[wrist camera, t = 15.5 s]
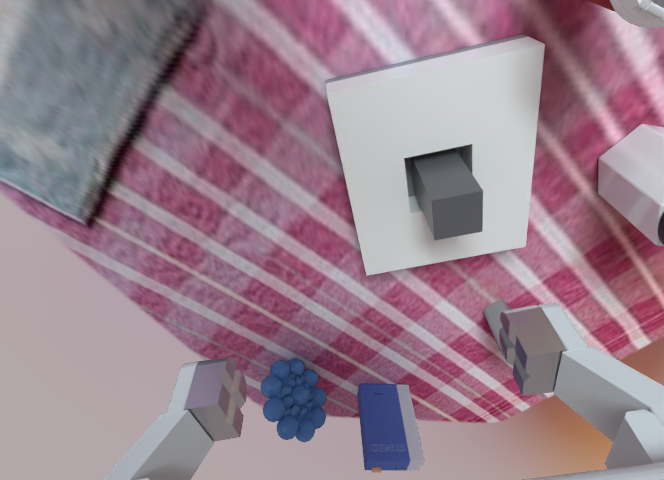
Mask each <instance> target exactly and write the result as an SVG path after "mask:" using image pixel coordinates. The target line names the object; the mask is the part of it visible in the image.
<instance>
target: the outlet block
mask: <svg viewBox="0 0 664 480" xmlns="http://www.w3.org/2000/svg"><path fill="white" fill-rule="evenodd" d="M544 49H545V44H544V43H541V42H539V41H537V40H535V39H533V38H530V37H528V36H526V35H524V34H522V35H518V36H513V37H509V38H505V39H500V40H496V41H492V42H487V43H483V44H479V45H474V46H470V47H466V48H462V49H457V50H453V51H449V52H444V53H440V54H436V55H431V56H427V57H423V58H419V59H414V60H410V61H406V62H401V63H397V64H393V65H388V66H384V67H380V68H376V69H371V70H367V71H363V72H358V73H354V74H350V75H345V76H341V77H337V78H333V79H328V80H326V90H327V97H328V102H329V106H330V111H331V116H332V120H333V125H334V129H335V134H336V138H337V143H338V148H339V152H340V157H341V161H342V166H343V171H344V175H345V180H346V184H347V189H348V193H349V198H350V203H351V207H352V212H353V216H354V221H355V226H356V230H357V235H358V239H359V244H360V248H361V253H362V258H363V262H364V267H365V271H366V276H367V275H373V274H378V273H384V272H389V271H395V270H400V269H406V268H411V267H417V266H422V265H428V264H433V263H439V262H444V261H450V260H455V259H461V258H466V257H472V256H477V255H482V254H488V253H493V252H499V251H504V250H510V249H515V248H521V247H526V238H527V227H528V217H529V206H530V196H531V185H532V175H533V164H534V154H535V143H536V133H537V123H538V112H539V102H540V91H541V81H542V70H543V60H544ZM451 148H455V149H456V151H457V152H458V154H459V155H460V157H461V158H462V160H463V161H464V163H465V164H466V166H467V167H468V169H469V170H470V172H471V173H472V175H473V176H474V178H475V179H476V181H477V182H478V184H479V185H480V187H481V188H482V190H483V229H482V232H477V233H472V234H467V235H461V236H456V237H451V238H445V239H440V240H435V241H434V238H433V236H432V233H431V231H430V228H429V226H428V223H427V221H426V218H425V216H424V213H423V211H422V208H421V206H420V203H419V201H418V198H417V196H416V193H415V191H414V188H413V180H412V170H411V160H410V157H413V156H418V155H422V154H427V153H432V152H437V151H442V150H446V149H451Z"/></svg>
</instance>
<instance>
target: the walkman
mask: <svg viewBox="0 0 664 480" xmlns="http://www.w3.org/2000/svg"><path fill="white" fill-rule="evenodd" d="M358 404H359V415H360V424H361V436H362V446H363V457H364V467H365V470H372V472H381V470H419V469H420V467H421V466H422V465H423V463H424V457H423V451H422V448H421V442H420V437H419V432H418V428H417V423H416V418H415V413H414V409H413V404H412V399H411V394H410V390H409V385H398V384H396V385H393V384H360V385H359V390H358Z"/></svg>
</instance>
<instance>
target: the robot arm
mask: <svg viewBox="0 0 664 480" xmlns="http://www.w3.org/2000/svg"><path fill="white" fill-rule="evenodd" d="M500 321H501V323H502V325H503V327H502V328H501V329H500V330H499V339H500V344H501V349H502V351H503V354H504V357H505V359H506V361H507V362H508V363H509V364H511V365H512V366H513V377H514V379H515V381H516V383H517V385H518V387H519V390H520V392H521V394H522V396H524V395H532V394H541V393H549V392H554V394H555V395H556V396H558V397H559V398H560V399H561V400H562V401H563V402H565V403H566V404H567V405H568V406H570V407H571V408H572V409H573V410H575V411H576V412H577V413H578V414H579V415H581V416H582V417H583V418H584V419H586V420H587V421H588V422H589V423H590V424H592V425H593V426H594V427H595V428H597V429H598V430H599V431H600V432H602V433H603V434H604V435H605V436H607V437H608V438H609V439H610V440H611V441H613V442H614V443H613V445H612V448H611V450H610V453H609V455H608V457H607V460H606V462H605V465H606V467H607V469H604V470H596V471H588V472H581V473H572V474H564V475H556V476H548V477H540V478H532V479H524V480H664V386H662V385H661V384H659V383H657V382H655V381H653V380H652V379H650V378H648V377H647V376H645V375H643V374H641V373H639V372H638V371H636V370H634V369H632V368H631V367H629V366H627V365H625V364H624V363H622V362H620V361H618V360H617V359H615V358H613V357H611V356H609V355H608V354H606V353H604V352H602V351H601V350H599V349H597V348H595V347H590V348H589V347H588V346H587V344H586V343H585V341H584V340H583V338H582V337H581V335H580V334H579V333H578V331H577V330H576V328H575V327H574V325H573V324H572V322H571V321H570V319H569V318H568V316H567V315H566V313H565V312H564V310H563V309H562V308H561V306H560V305H559V304H558V303H556V302H554V303H548V304H542V305H537V306H536V305H534V306H528V307H523V308H517V309H512V310H506V311H502V312H501V314H500ZM236 364H237V363H236V362H235V360H234V359H233V357H227V358H220V359H213V360H206V361H199V362H193V363H186V364H184V365H183V366H182V367H181V369H180V372H179V375H178V378H177V381H176V384H175V387H174V390H173V394H172V397H171V400H170V403H169V407H168V409H167V413H163V414H161V415H160V416H159V418H158V419H157V420H156V421H155V422H154V423H153V424H152V426H150V428H149V429H148V430H147V431H146V432H145V433H144V434H143V435H142V436H141V437H140V439H139V440H138V441H137V442H136V443H135V444H134V445H133V446H132V447H131V448H130V450H129V451H128V452H127V453H126V454H125V455H124V456H123V457H122V458H121V459H120V461H119V462H118V463H117V464H116V465H115V466H114V467H113V468H112V470H111V471H110V472H109V473H108V474H107V475H106V476H105V477H104V478H103V479H102V480H191V478H192V476H193V475H194V473H195V472H196V470H197V469H198V467H199V465H200V464H201V462H202V461H203V459H204V458H205V456H206V455H207V453H208V452H209V450H210V448H211V447H212V445H213V444H214V442H213V441H219V440H225V439H230V438H236V437H240V435H241V429H242V422H243V414H242V413H241V411H240V408H241V407H242V406H243V405H244V403H245V402H246V395H247V389H246V381H245V378H244V375H243V374H242V372H241V371H239V370H237V369H236Z"/></svg>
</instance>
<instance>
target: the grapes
mask: <svg viewBox="0 0 664 480" xmlns="http://www.w3.org/2000/svg"><path fill="white" fill-rule="evenodd" d="M304 369H305V366H304V363H303V362H302V361H301V360H299V359H296V358H295V359H291V360H290V361H288V362H285V361H282V360H280V361H276V362H275V363H273V364H272V366H271V369H270V374H271V376H267V377H266V378H265V379H263V381H262V384H261V391H262V394H263V395H264V396H265V397H268V398H270V399H269V400H268V401H266V402H265V405H264V407H263V414H264V416H265V418H266V419H267V420H268V421H271V422H275V421H279V422H278V424H277V432H278V435H279V436H280V437H281V438H282V439H285V440H288V439H292V438H293V437H294V436H296V438H297V439H298V440H299V441H302V442H307V441H309V440H310V439H311V438H312V437H313V435H314V433H315V429H317V428H320V427H321V426H322V425H323V424H324V422H325V419H326V414H325V411H324V410H323V409H322V408H321V407H322V406H323V405H324V404H325V401H326V392H325V391H324V390H323V389H322V388H319V387H316V388H314V387H315V386H316V385H317V382H318V374H317V373H316V372H315V371H314V370H311V369H307V370H304Z"/></svg>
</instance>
